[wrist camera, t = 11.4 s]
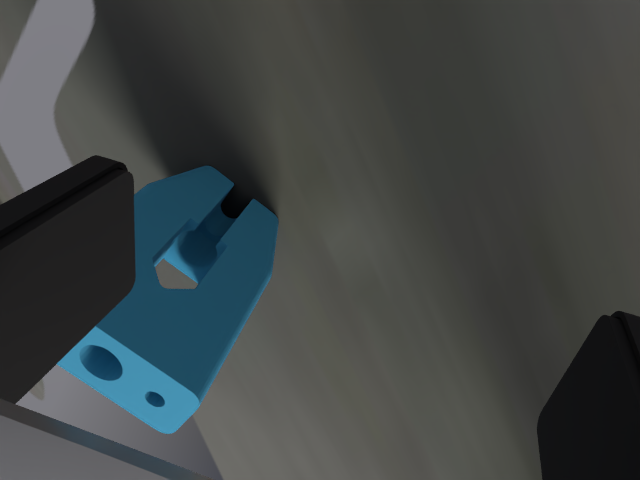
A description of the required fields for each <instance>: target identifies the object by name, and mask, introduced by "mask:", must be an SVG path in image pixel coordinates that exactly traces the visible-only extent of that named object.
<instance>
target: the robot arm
mask: <svg viewBox="0 0 640 480" xmlns="http://www.w3.org/2000/svg"><path fill="white" fill-rule="evenodd" d="M135 278H136V267H135V222H134V180H133V176H132V174H131V173H130V172H128V170H127V168H126V165H125V164H123V163H121V162H118V161H115V160H111V159H108V158H105V157H101V156H97V155H95V156H92V157H90V158H88V159H86V160H84V161H82V162H80V163H79V164H77V165H75V166H73V167H71V168H69V169H67V170H65V171H64V172H62V173H60V174H58V175H56V176H54V177H52V178H50V179H48V180H47V181H45V182H43V183H41V184H39V185H37V186H35V187H33V188H32V189H30V190H28V191H26V192H24V193H22V194H20V195H18V196H16V197H15V198H13V199H11V200H9V201H7V202H5V203H3V204H1V205H0V480H214V479H211V478H208V477H206V476H203V475H200V474H198V473H195V472H192V471H190V470H187V469H185V468H182V467H180V466H177V465H174V464H171V463H169V462H166V461H164V460H161V459H159V458H156V457H153V456H151V455H148V454H145V453H143V452H140V451H138V450H135V449H132V448H130V447H127V446H124V445H122V444H119V443H117V442H114V441H111V440H109V439H106V438H103V437H101V436H98V435H95V434H93V433H90V432H87V431H85V430H82V429H80V428H77V427H74V426H72V425H69V424H66V423H64V422H61V421H58V420H56V419H53V418H50V417H48V416H45V415H42V414H40V413H37V412H34V411H32V410H29V409H26V408H24V407H21V406H18V405H16V404H15V403H17V402H18V401H19V400H20V399H21V398H22V397H23V396H24V395H25V394H26V393H27V392H28V391H29V390H30V389H31V388H32V387H33V386H34V385H35V384H36V383H37V382H39V381H40V380H41V379H42V378H43V377H44V376H45V374H47V373H48V372H49V371H50V370H51V369H52V368H53V367H54V366H55V365H56V364H57V363H58V362H59V361H60V360H61V359H62V358H63V357H64V356H65V355H66V354H67V353H68V352H69V351H70V350H71V349H72V348H73V347H74V346H75V345H77V344H78V343H79V342H80V341H81V340H82V339H83V338H84V337H85V336H86V335H87V334H88V333H89V332H90V331H91V330H92V329H93V328H94V327H95V326H96V325H97V324H98V323H99V322H100V321H101V320H102V319H103V318H104V317H105V316H106V315H107V314H108V313H109V312H110V311H111V310H112V309H113V308H115V307H116V306H117V305H118V304H119V303H120V302H121V301H122V300H123V299H124V298H125V297H126V296H127V295H128V294H129V293H130V291H131V290H132V288H133V286H134V283H135ZM537 435H538V443H539V452H540V461H541V470H542V479H543V480H640V317H639V316H635V315H632V314H629V313H625V312H622V311H616V312H615V313H613V314H612V315H611V316H607V315H603V316H601V317H600V318H599V319H598V321H597V322H596V324H595V326H594V327H593V329H592V330H591V332H590V334H589V335H588V337H587V338H586V340H585V342H584V343H583V345H582V347H581V348H580V350H579V351H578V353H577V355H576V356H575V358H574V359H573V361H572V363H571V364H570V366H569V368H568V369H567V371H566V372H565V374H564V376H563V377H562V379H561V380H560V382H559V384H558V385H557V387H556V389H555V390H554V392H553V393H552V395H551V397H550V398H549V400H548V401H547V403H546V405H545V406H544V408H543V410H542V411H541V413H540V416H539V419H538V424H537Z"/></svg>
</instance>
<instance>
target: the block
mask: <svg viewBox="0 0 640 480" xmlns="http://www.w3.org/2000/svg"><path fill="white" fill-rule="evenodd" d="M233 186H234V183H233V182H232V181H230V180H229V179H228V178H226V177H225V176H224V175H223V174H221V173H220V172H219V171H217V170H216V169H215V168H213V167H211V166H202V167H199V168H196V169H193V170H190V171H186V172H183V173H180V174H177V175H174V176H171V177H168V178H165V179H162V180H159V181H155V182H152V183H149V184H147V185H146V186H145V187H143V188H142V189H141V190H140V191H138V192H137V193H136V194H134V222H135V267H136V278H135V283H134V286H133V288H132V290H131V291H130V293H129V294H128V295H127V296H126V297H125V298H124V299H123V300H122V301H121V302H120V303H119V304H118V305H117V306H116V307H115V308H113V309H112V310H111V311H110V312H109V313H108V314H107V315H106V316H105V317H104V318H103V319H102V320H101V321H100V322H99V323H98V324H97V325H96V326H95V327H94V328H93V329H92V330H91V331H90V332H89V333H88V334H87V335H86V336H85V337H84V338H83V339H82V340H81V341H80V342H79V343H78V344H77V345H75V346H74V347H73V348H72V349H71V350H70V351H69V352H68V353H67V354H66V355H65V356H64V357H63V358H62V359H61V360H60V361H59V362H58V363H57V365H59V366H60V367H62V368H63V369H65V370H66V371H68V372H69V373H71V374H72V375H74V376H75V377H77V378H78V379H80V380H81V381H83V382H84V383H86V384H87V385H89V386H90V387H92V388H93V389H95V390H97V391H98V392H100V393H101V394H103V395H104V396H106V397H107V398H109V399H110V400H112V401H113V402H115V403H117V404H118V405H119V406H121V407H122V408H124V409H125V410H127V411H128V412H130V413H131V414H133V415H134V416H136V417H137V418H139V419H140V420H142V421H143V422H145V423H146V424H148V425H149V426H151V427H152V428H154V429H156V430H157V431H159V432H162V433H166V434H171V433H174V432H175V431H176V430H177V429H178V428H179V427H180V426H181V425H182V424H183V423H184V422H185V421H186V420H187V419H188V418H189V417H190V416H191V415H192V414H193V413H194V412H195V411H196V410H197V409H198V408H199V406H200V404H201V402H202V401H203V399H204V397H205V395H206V393H207V392H208V390H209V388H210V386H211V384H212V383H213V381H214V379H215V377H216V375H217V374H218V372H219V370H220V368H221V366H222V365H223V363H224V361H225V359H226V357H227V356H228V354H229V352H230V350H231V348H232V347H233V345H234V343H235V341H236V339H237V338H238V336H239V334H240V332H241V330H242V329H243V327H244V325H245V323H246V321H247V320H248V318H249V316H250V314H251V312H252V311H253V309H254V307H255V305H256V303H257V302H258V300H259V298H260V296H261V294H262V293H263V291H264V289H265V287H266V285H267V284H268V282H269V280H270V278H271V275H272V268H273V261H274V253H275V246H276V238H277V231H278V218H277V217H276V215H275V214H274V213H272V212H271V211H270V210H268V209H267V208H266V207H264V206H263V205H262V204H261V203H259V202H258V201H257V200H255V199H252V200H251V202H250V203H249V204H248V205H247V207H246V208H245V209H244V210H243V212H242V213H241V214H240V216H239V217H238V218H235V219H232V218H229V217H227V216H225V215H224V214H223V212H222V210H221V203H222V201H223V200H224V199H225V197H226V196H227V194H228V193H229V192H230V190H231V189H232V187H233ZM162 259H165V260H166V261H168V262H169V263H170V264H172V265H173V266H174V267H176V268H177V269H179V270H180V271H181V272H183V273H184V274H186V275H187V276H188V277H190V278H191V279H193V280H194V281H195V282H197V283H198V285H197V287H196V288H195V289H166V288H164V287H162V286H161V285H160V283H159V280H158V277H157V273H156V270H155V266H156V265H157V264H158V263H159V262H160V261H161V260H162Z"/></svg>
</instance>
